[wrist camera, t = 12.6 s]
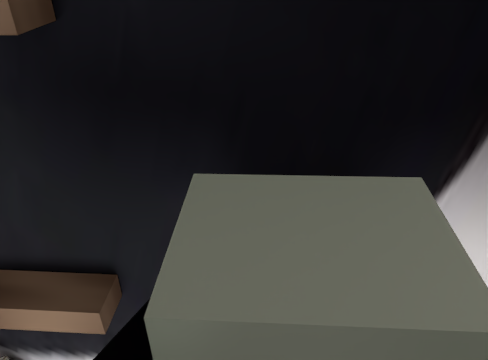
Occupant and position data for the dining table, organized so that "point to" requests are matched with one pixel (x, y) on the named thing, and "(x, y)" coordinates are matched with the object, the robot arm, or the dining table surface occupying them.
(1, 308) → the channel
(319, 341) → the sage block
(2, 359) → the candy bar box
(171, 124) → the dining table surface
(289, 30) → the dining table surface
